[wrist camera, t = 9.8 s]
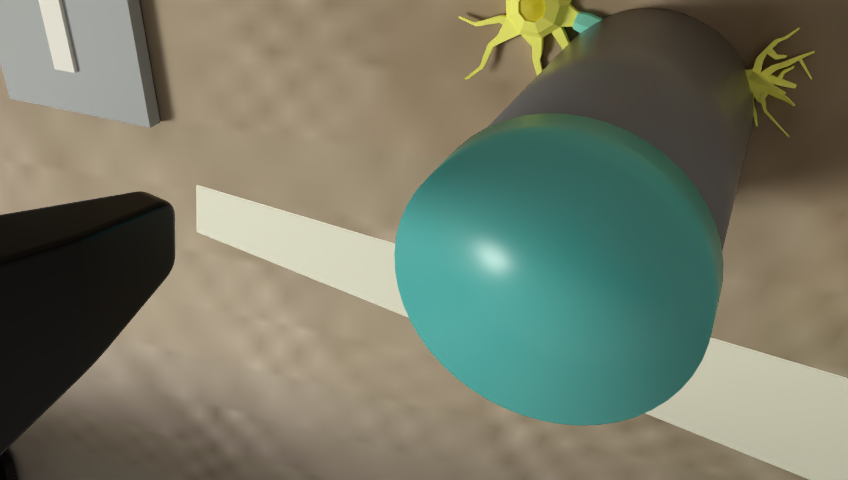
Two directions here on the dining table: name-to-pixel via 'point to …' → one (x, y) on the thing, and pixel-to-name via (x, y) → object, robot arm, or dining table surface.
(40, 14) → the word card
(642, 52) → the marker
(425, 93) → the dining table surface
